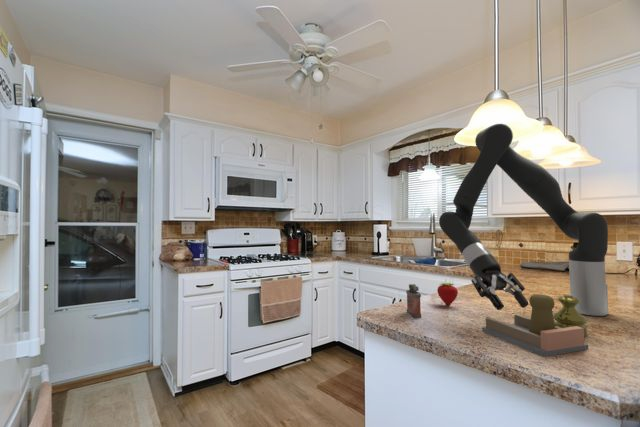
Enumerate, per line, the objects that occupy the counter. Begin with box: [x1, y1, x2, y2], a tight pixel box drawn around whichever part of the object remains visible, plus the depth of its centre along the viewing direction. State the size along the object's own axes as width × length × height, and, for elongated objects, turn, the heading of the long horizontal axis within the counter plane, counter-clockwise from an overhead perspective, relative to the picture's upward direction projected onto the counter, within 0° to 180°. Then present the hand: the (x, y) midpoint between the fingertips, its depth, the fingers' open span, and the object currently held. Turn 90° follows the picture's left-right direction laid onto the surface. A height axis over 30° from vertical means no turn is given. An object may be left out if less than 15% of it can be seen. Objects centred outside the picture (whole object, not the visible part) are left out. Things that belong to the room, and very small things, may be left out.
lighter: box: [405, 283, 422, 319], centre depth 106 cm, size 8×3×10 cm, turn 5°
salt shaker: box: [552, 294, 588, 337], centre depth 87 cm, size 7×7×10 cm
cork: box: [528, 293, 556, 336], centre depth 79 cm, size 6×6×11 cm
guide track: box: [481, 314, 590, 357], centre depth 82 cm, size 14×18×5 cm
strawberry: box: [436, 278, 459, 307], centre depth 116 cm, size 6×8×10 cm
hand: (513, 307), depth 87 cm, fingers open, 8 cm apart
